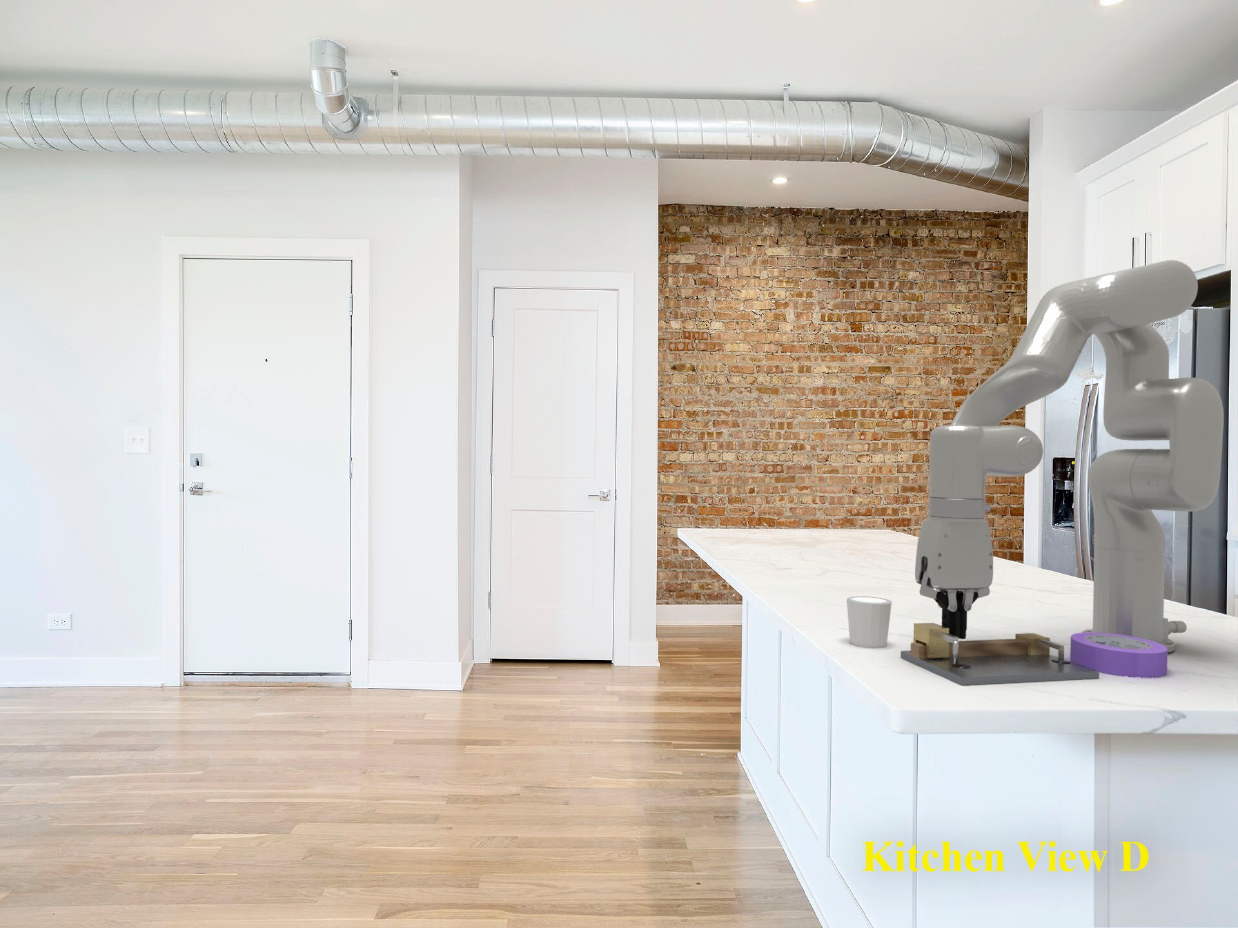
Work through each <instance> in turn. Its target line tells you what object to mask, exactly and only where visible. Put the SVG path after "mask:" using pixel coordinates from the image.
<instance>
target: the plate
mask: <svg viewBox="0 0 1238 928" xmlns="http://www.w3.org/2000/svg"><path fill="white" fill-rule="evenodd" d="M900 659H902V660H905V661H907V662H910V663H912V664H914V665H916V666H919V667H921V668H923V669H925V670H927V671H929V670H930V671H929V672H931V673H934V674H936V675H938V676H941V677H943V678H945V679H947V680H949V679H950V681H951V682H954V683H955V684H959V685H960V686H975V685H976V686H978V685H997V684H1013V683H1016V684H1017V683H1031V682H1033V683H1034V682H1035V683H1036V682H1052V681H1053V682H1054V681H1072V680H1073V681H1074V680H1076V681H1077V680H1093V679H1100V672H1099V671H1098V670H1095V669H1092V668H1089V667H1086V666H1083V665H1080V664H1077V663H1074V662H1071V661H1070V660H1067V659H1065V658H1064V661H1059V660H1058V656H1055V655H1052V654H1046V655H1029V654H1019V655H995V656H972V657H958V664H955V663H953V657H948V658H925V659H918V658H916V657H914V656H911V649H910V650H900Z"/></svg>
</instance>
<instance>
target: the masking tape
mask: <svg viewBox="0 0 1238 928" xmlns="http://www.w3.org/2000/svg"><path fill="white" fill-rule="evenodd" d="M1069 649H1070V651H1069V661H1071V662H1074V663H1077V664H1080V665H1083V666H1086V667H1089V668H1092V669H1095V670H1098V671H1099V674H1106V675H1112V676H1116V677H1117V676H1118V677H1124V676H1128V677H1127V678H1135V677H1141V678H1140V679H1155V678H1156V677H1157V678H1162V677H1161V676H1163V677H1165V676H1167V675H1166V674H1167V673H1168V653H1169V652H1168V649H1167V647H1165V646H1164V645H1162V644H1159V643H1157V642H1154V641H1150V640H1146V639H1142V638H1137V637H1132V636H1126V635H1119V634H1110V633H1094V632H1087V633H1082V632H1076V633H1073V634H1071V636H1070V648H1069ZM1143 677H1145V678H1143ZM1147 677H1148V678H1147ZM1152 677H1153V678H1152ZM1157 678H1156V679H1157Z"/></svg>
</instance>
